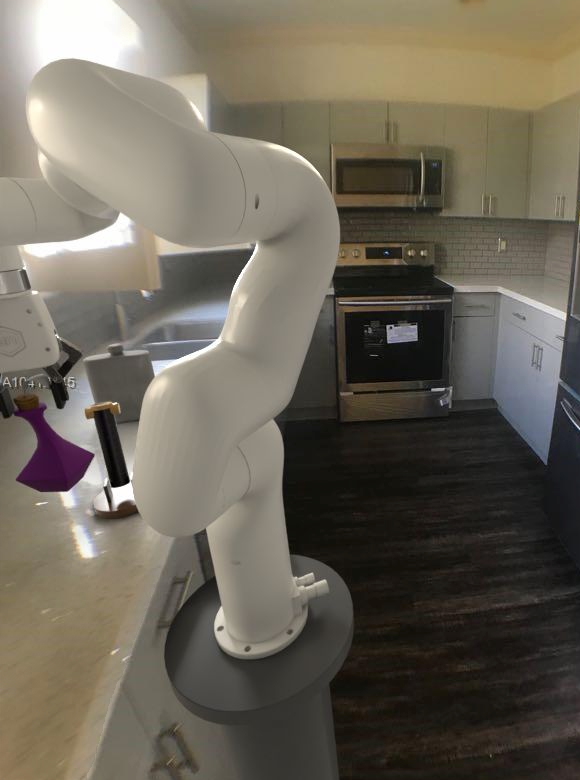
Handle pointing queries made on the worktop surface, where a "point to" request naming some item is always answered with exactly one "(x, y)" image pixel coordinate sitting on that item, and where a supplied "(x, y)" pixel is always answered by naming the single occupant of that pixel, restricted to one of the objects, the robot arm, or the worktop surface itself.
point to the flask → (120, 379)
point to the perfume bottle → (49, 448)
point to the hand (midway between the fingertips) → (36, 409)
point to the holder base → (115, 501)
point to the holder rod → (110, 441)
